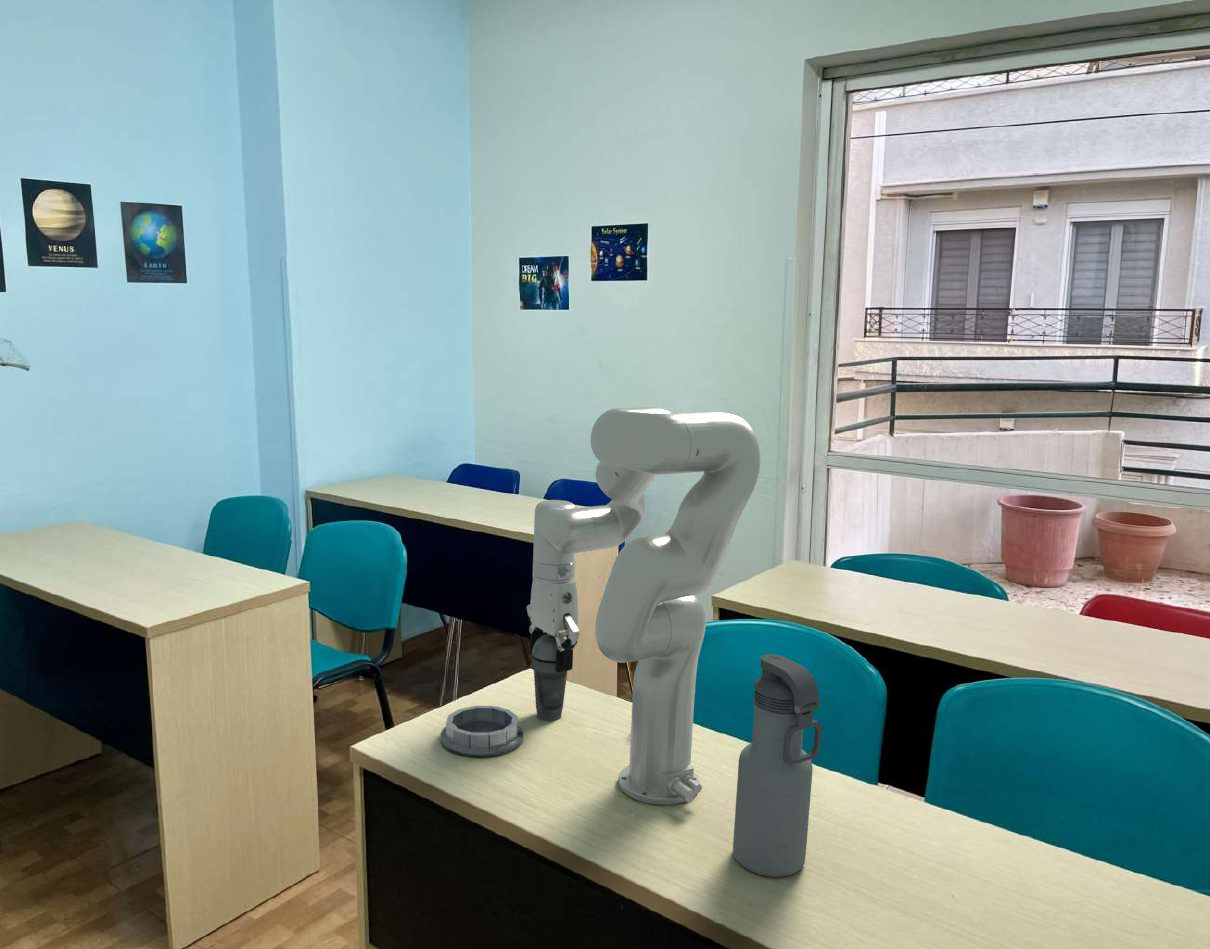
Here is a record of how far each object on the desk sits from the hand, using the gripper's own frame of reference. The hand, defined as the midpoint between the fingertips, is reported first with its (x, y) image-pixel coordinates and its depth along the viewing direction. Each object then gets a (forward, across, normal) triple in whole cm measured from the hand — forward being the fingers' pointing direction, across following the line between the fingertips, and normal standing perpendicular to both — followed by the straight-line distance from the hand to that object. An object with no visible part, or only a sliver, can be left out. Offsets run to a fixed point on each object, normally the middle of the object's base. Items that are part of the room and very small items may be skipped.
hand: (550, 661), depth 169 cm
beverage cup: (+10, 0, 0) cm, 10 cm away
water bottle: (+10, -55, -3) cm, 56 cm away
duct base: (+10, -3, +15) cm, 18 cm away
